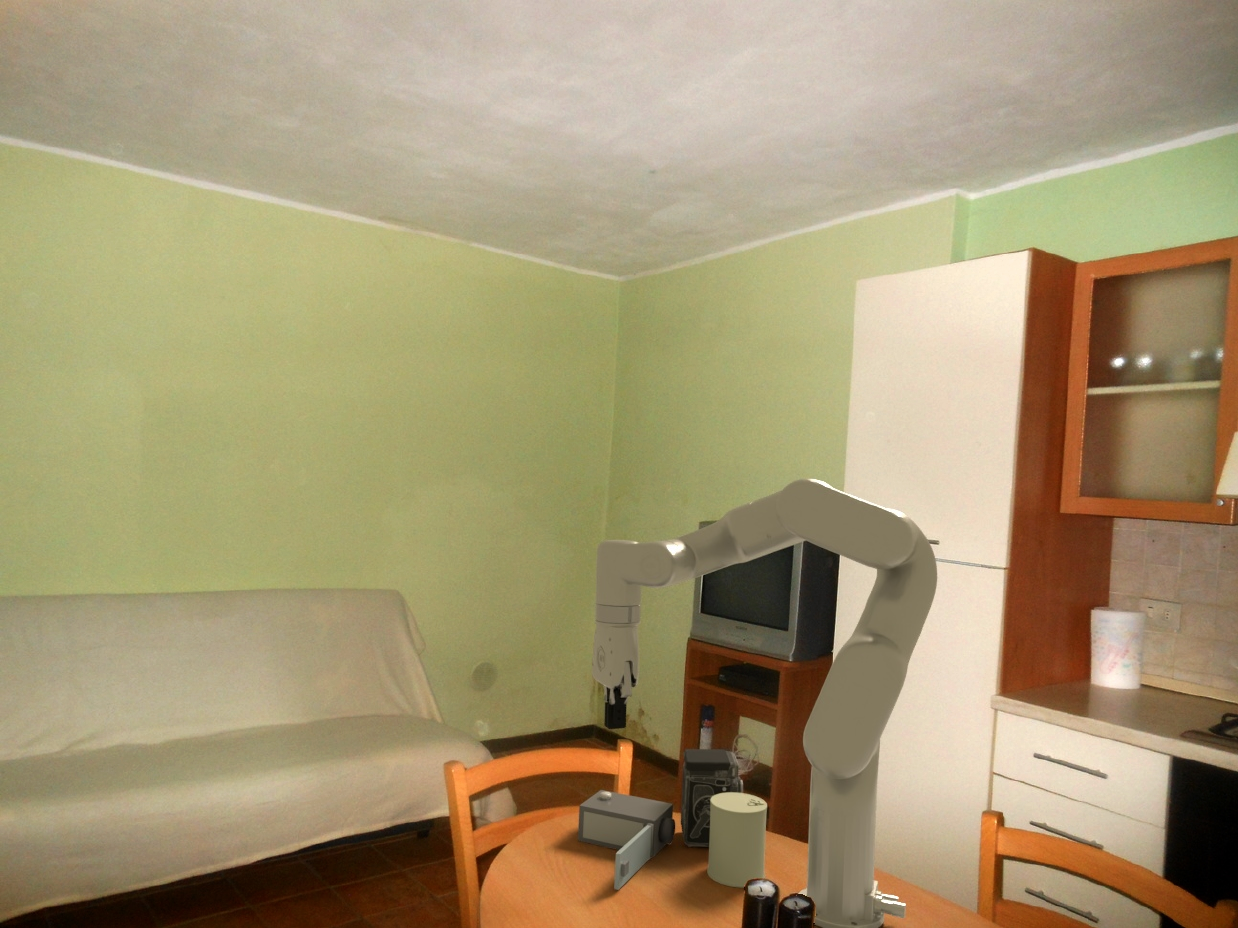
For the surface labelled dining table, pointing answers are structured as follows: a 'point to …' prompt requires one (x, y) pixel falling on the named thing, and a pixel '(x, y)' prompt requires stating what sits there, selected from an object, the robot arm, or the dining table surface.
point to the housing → (624, 820)
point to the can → (736, 838)
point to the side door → (633, 855)
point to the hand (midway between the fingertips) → (615, 727)
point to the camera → (705, 789)
